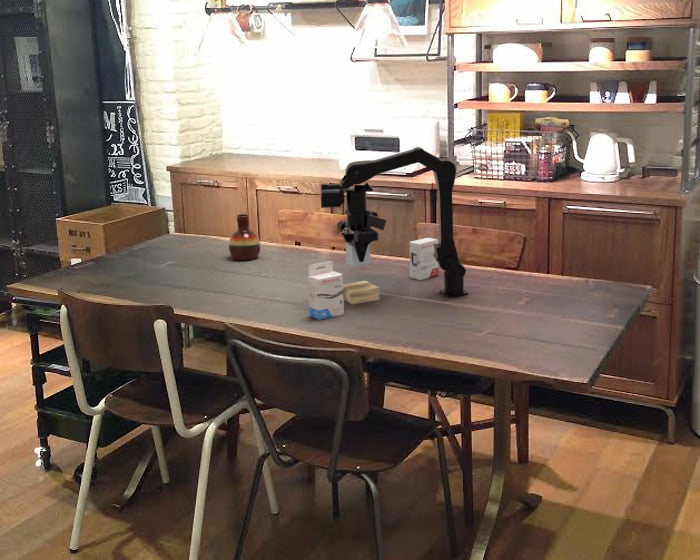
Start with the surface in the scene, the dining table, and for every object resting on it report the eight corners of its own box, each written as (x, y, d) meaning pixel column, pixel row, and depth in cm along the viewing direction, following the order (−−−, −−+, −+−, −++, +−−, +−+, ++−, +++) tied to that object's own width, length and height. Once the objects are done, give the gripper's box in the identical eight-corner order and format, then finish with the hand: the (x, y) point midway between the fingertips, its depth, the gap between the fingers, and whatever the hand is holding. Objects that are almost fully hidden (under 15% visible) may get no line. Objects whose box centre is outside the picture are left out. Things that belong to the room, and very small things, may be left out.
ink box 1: (319, 320, 239) (316, 268, 236) (309, 316, 243) (306, 265, 239) (344, 314, 244) (342, 263, 240) (334, 310, 248) (332, 259, 244)
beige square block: (379, 300, 257) (379, 287, 255) (351, 305, 253) (351, 292, 252) (366, 293, 264) (365, 280, 263) (338, 297, 261) (338, 284, 260)
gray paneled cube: (370, 264, 254) (369, 244, 253) (352, 266, 253) (351, 245, 251) (363, 260, 259) (363, 240, 258) (345, 262, 258) (345, 242, 256)
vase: (223, 258, 311) (220, 216, 307) (248, 253, 318) (245, 211, 314) (241, 263, 303) (238, 220, 299) (267, 257, 310) (264, 214, 306)
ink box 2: (428, 272, 284) (428, 236, 280) (439, 275, 280) (439, 239, 277) (408, 277, 278) (408, 241, 275) (419, 280, 274) (419, 243, 271)
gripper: (395, 209, 246) (395, 263, 250) (371, 199, 262) (372, 249, 267) (357, 213, 242) (359, 268, 246) (335, 202, 259) (337, 253, 263)
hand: (358, 259), depth 256 cm, fingers closed on gray paneled cube, 5 cm apart
